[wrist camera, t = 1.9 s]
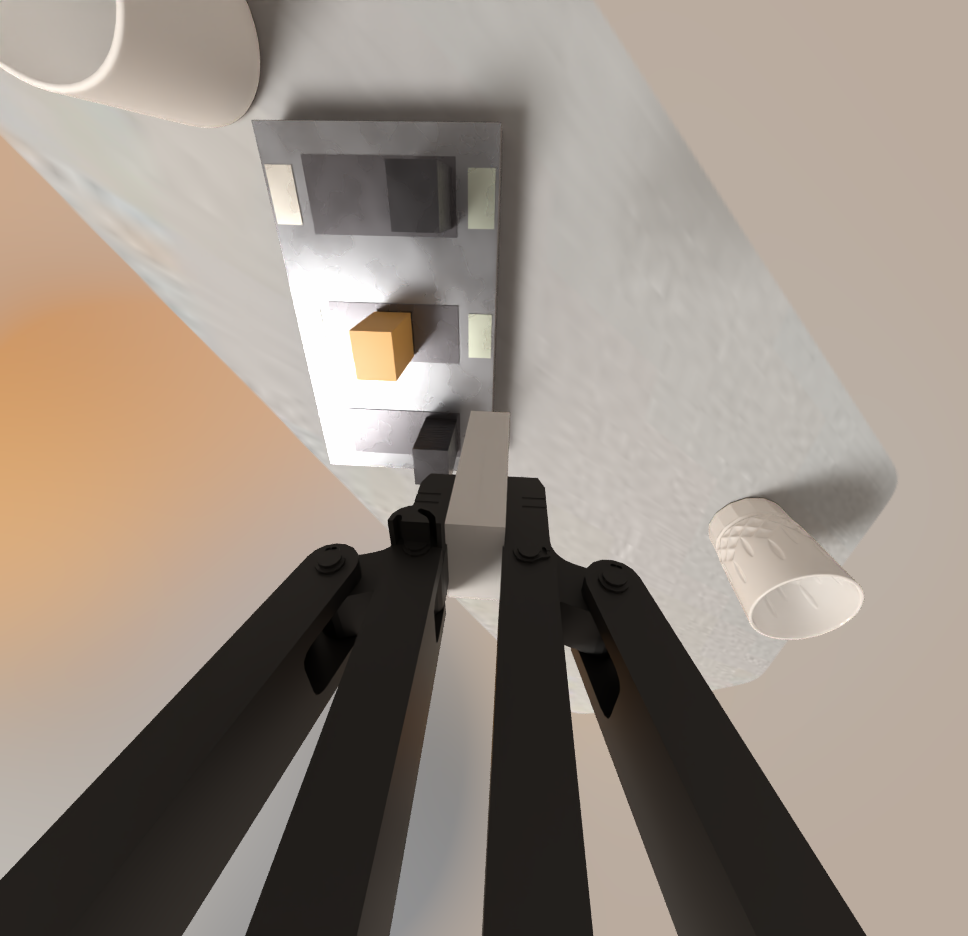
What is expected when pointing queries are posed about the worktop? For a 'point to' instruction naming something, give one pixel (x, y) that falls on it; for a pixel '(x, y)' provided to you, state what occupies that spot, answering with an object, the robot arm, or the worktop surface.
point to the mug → (138, 54)
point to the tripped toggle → (382, 346)
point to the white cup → (781, 572)
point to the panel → (391, 274)
